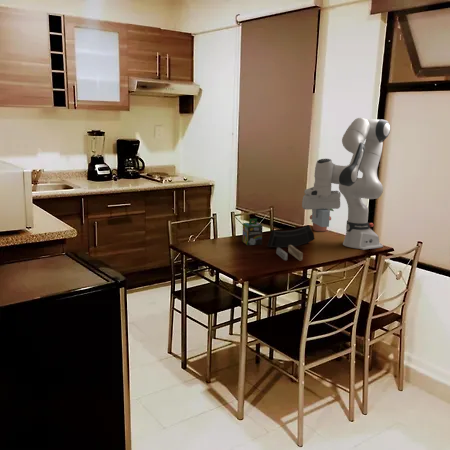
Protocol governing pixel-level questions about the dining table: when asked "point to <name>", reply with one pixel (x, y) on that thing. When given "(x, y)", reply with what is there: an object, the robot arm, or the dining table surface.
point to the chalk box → (252, 233)
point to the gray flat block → (281, 253)
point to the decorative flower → (319, 228)
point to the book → (321, 217)
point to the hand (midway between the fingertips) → (320, 217)
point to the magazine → (291, 237)
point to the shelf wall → (295, 252)
